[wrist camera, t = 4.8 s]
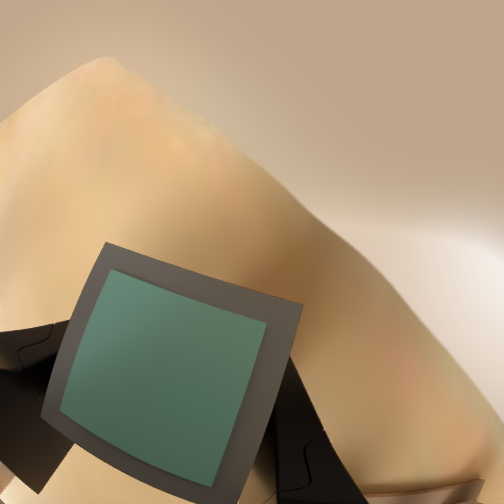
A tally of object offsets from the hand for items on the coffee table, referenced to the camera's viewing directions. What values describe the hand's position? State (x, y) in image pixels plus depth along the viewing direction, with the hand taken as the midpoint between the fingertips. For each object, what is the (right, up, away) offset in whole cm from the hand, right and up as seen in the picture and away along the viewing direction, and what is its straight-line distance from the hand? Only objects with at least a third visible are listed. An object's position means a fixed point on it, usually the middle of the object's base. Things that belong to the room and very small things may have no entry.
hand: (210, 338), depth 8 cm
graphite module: (-1, -4, +6) cm, 7 cm away
